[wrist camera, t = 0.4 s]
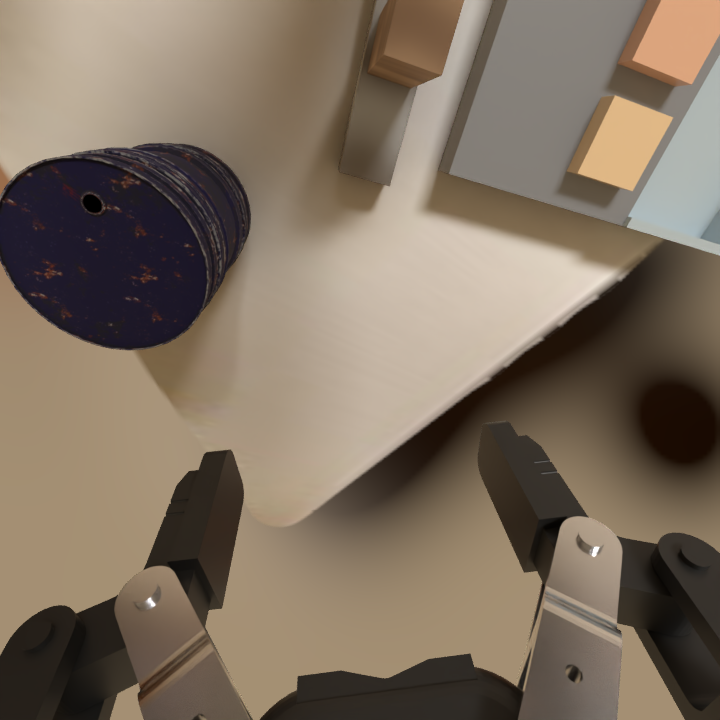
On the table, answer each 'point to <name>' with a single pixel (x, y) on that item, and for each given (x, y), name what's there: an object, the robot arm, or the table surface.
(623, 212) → the board
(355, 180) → the table surface
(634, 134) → the tile
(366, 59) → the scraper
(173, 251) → the storage jar
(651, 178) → the tray
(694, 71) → the tile
